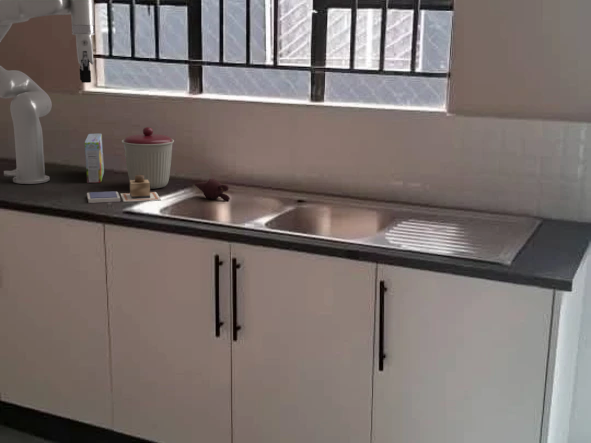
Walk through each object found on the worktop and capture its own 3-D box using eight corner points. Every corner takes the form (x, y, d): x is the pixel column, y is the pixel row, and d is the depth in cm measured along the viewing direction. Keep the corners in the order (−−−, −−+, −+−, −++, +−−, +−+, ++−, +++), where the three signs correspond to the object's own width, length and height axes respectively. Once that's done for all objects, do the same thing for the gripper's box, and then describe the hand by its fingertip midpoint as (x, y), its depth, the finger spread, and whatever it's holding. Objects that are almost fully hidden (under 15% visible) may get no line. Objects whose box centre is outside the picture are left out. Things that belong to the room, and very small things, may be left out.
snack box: (89, 172, 316) (87, 133, 313) (104, 172, 317) (103, 133, 314) (85, 183, 296) (83, 141, 292) (101, 183, 297) (100, 141, 293)
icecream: (186, 178, 275) (220, 188, 267) (200, 170, 280) (235, 179, 272) (188, 197, 278) (222, 207, 270) (203, 188, 283) (237, 198, 275)
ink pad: (88, 202, 266) (88, 198, 265) (87, 196, 275) (86, 192, 275) (120, 201, 269) (120, 197, 268) (117, 195, 278) (117, 190, 277)
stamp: (131, 198, 271) (131, 177, 270) (130, 194, 277) (129, 174, 275) (150, 197, 273) (149, 177, 271) (148, 194, 279) (147, 173, 277)
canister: (121, 182, 298) (119, 124, 293) (171, 180, 303) (170, 123, 298) (125, 192, 282) (123, 131, 276) (178, 190, 286) (177, 130, 281)
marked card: (123, 202, 268) (123, 200, 268) (120, 194, 279) (120, 193, 279) (160, 200, 271) (160, 199, 271) (156, 192, 282) (156, 191, 282)
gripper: (96, 31, 274) (98, 83, 278) (93, 30, 290) (95, 79, 294) (72, 31, 272) (75, 83, 276) (71, 29, 288) (73, 79, 292)
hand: (85, 81), depth 285 cm, fingers open, 9 cm apart
